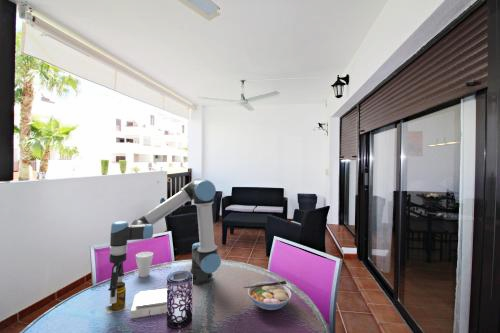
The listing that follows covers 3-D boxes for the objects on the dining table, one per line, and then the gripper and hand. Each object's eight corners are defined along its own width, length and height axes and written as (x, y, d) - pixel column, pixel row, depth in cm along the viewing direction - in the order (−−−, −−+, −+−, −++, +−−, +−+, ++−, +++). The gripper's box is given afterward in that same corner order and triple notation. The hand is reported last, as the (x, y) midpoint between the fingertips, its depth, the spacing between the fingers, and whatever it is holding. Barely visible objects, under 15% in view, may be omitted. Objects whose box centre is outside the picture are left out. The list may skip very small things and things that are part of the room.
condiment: (126, 309, 121) (127, 285, 121) (106, 314, 116) (107, 289, 116) (124, 302, 127) (125, 279, 127) (106, 307, 122) (107, 283, 122)
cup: (149, 270, 167) (149, 250, 167) (154, 275, 159) (155, 254, 159) (132, 274, 160) (133, 253, 160) (138, 280, 152) (138, 258, 152)
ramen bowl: (252, 322, 113) (252, 304, 113) (240, 297, 135) (241, 282, 135) (300, 315, 120) (301, 298, 120) (282, 292, 142) (282, 278, 142)
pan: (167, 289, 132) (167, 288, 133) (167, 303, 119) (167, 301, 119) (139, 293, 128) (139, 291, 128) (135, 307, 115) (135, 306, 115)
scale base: (171, 296, 134) (171, 288, 134) (171, 313, 118) (171, 305, 118) (135, 300, 128) (135, 293, 129) (130, 319, 112) (130, 310, 113)
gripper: (115, 245, 132) (113, 285, 132) (103, 262, 109) (100, 310, 108) (130, 245, 135) (128, 283, 134) (121, 261, 111) (119, 308, 110)
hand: (116, 295), depth 121 cm, fingers open, 13 cm apart
